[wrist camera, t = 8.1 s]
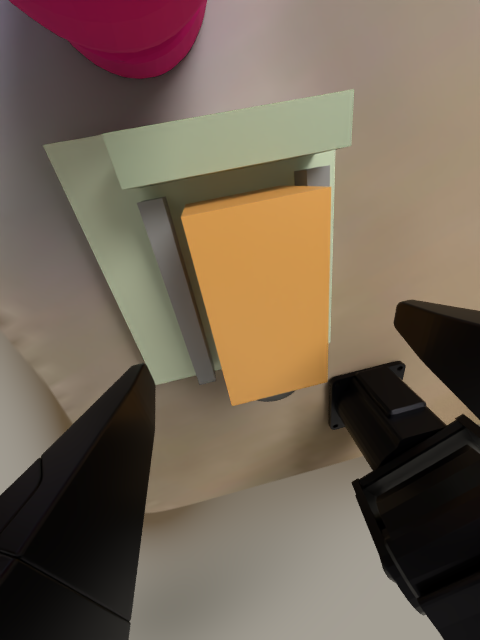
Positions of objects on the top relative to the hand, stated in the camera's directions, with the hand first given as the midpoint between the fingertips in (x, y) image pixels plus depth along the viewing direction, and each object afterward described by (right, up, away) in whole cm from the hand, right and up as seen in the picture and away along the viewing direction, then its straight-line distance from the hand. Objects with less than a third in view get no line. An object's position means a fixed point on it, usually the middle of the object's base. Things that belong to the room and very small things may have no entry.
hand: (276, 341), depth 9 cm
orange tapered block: (-1, +3, +5) cm, 6 cm away
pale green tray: (-2, +4, +6) cm, 8 cm away
